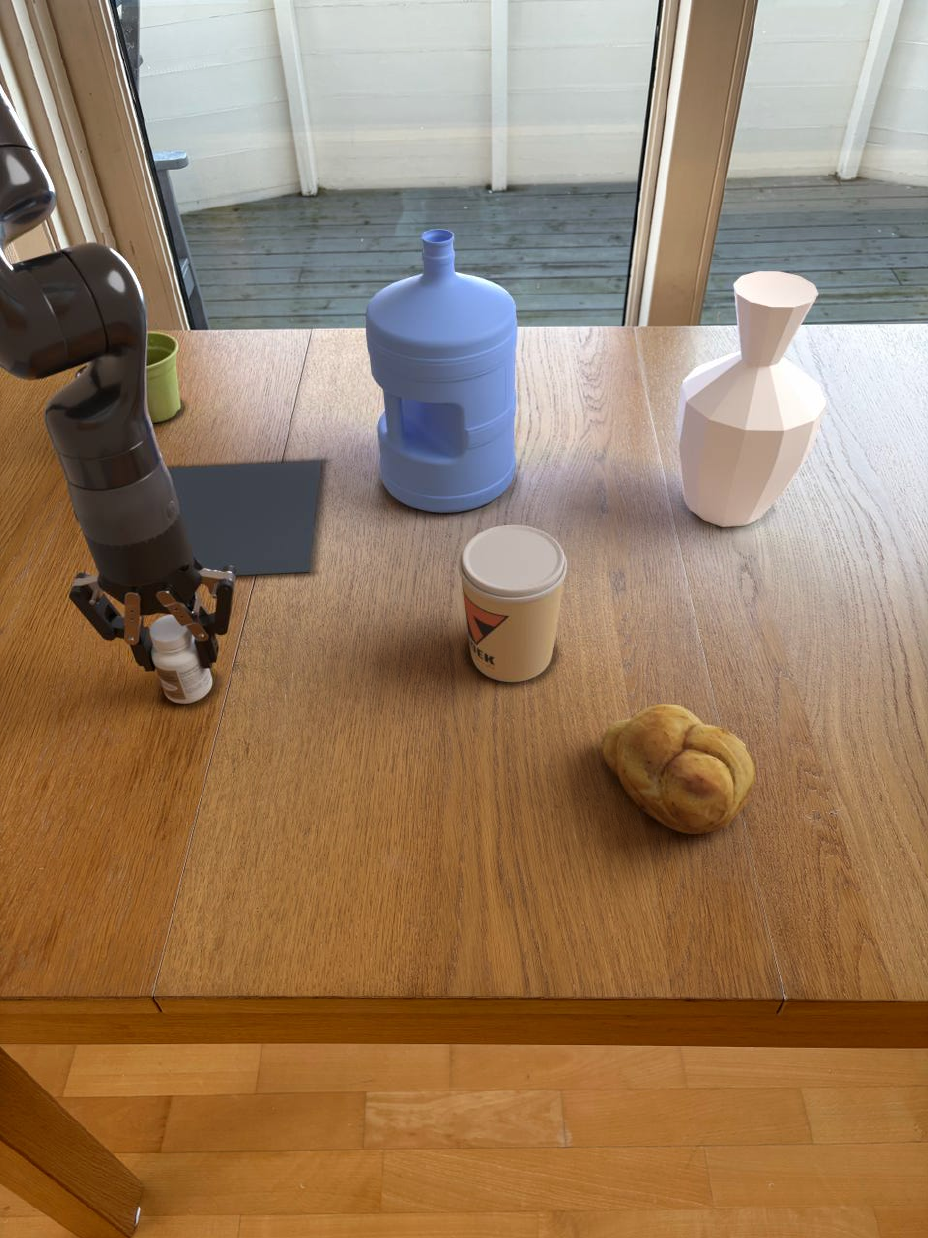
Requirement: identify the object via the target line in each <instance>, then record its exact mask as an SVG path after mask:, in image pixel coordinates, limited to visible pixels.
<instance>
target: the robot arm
mask: <svg viewBox="0 0 928 1238" xmlns="http://www.w3.org/2000/svg"><path fill="white" fill-rule="evenodd" d="M57 200H58V198H57V191H56V187H55V185H54V182H53V180H52V177H51V175H50V173H49V172H48V170H47V168H46V166H45V164H44V162H43V160H42V158H41V157H40V155H39V153H38V151H37V150H36V147H35V145H34V144H33V142H32V140H31V137H29V134H28V132H27V130H26V129H25V127H24V125H23V124H22V121H21V120H20V118H19V116H18V114H17V112H16V110H15V109H14V107H13V105H12V103H11V101H10V99H9V98H8V96H7V94H6V92H5V90H4V88H3V86H2V84H1V83H0V368H1V369H3V370H4V371H6V372H7V373H9V374H10V375H12V376H14V377H16V378H18V379H21V380H25V381H37V380H44V379H46V378H49V377H52V376H55V375H57V374H58V375H59V374H60V373H63V372H66V371H67V370H72V369H75V368H77V367H80V366H82V365H85V364H87V363H88V364H87V365H88V366H87V365H86V366H87V368H86V369H85V370H84V371H83V372H82V373H81V374H80V375H79V376H78V377H77V378H75V377H74V379H73V380H71V381H70V382H69V383H66V385H64V386H63V387H61V388H60V389H59V390H57V392H55V393H54V394H53V395H52V396H51V397H50V398H49V399H48V401H47V403H46V405H45V408H44V412H43V414H44V415H43V418H44V424H45V427H46V430H47V432H48V433H47V434H48V436H49V439H50V441H51V443H52V447H53V449H54V451H55V454H56V456H57V459H58V462H59V465H60V467H61V470H62V472H63V476H64V477H65V480H66V484H67V489H68V495H69V498H70V499H69V500H70V502H71V505H72V508H73V514H74V517H75V519H76V521H77V522H78V524H79V527H80V529H81V532H82V534H83V536H84V539H85V542H86V545H87V547H88V549H89V552H90V555H91V558H92V560H93V563H94V564H95V567H96V570H97V572H98V574H93V575H90V574H89V573H86V572H78V573H76V575H75V578H74V580H73V583H72V585H71V588H70V591H69V594H68V598H69V599H70V600H71V602H72V603H73V604H74V606H75V607H76V608H77V609H78V610H79V612H80V613H81V614H82V615H83V616H84V618H85V619H86V620H87V621H88V622H89V624H90V625H91V626H92V627H93V628H94V629H95V631H96V632H97V633H98V634H99V636H100V637H101V638H102V639H103V640H105V641H107V642H112V641H114V640H116V638H117V639H122V640H123V641H124V642H125V643H126V644H128V645H129V647H130V650H131V653H132V655H133V658H134V660H135V663H136V664H137V665H138V666H139V667H143V668H144V671H145V672H147V673H149V672H156V668H155V665H154V663H153V660H152V657H151V650H152V647H153V643H152V640H151V637H150V634H149V630H150V627H149V626H145V625H144V624H145V616H153V615H157V614H163V615H173V616H174V618H175V619H176V620H177V621H178V623H179V624H180V625H181V626H182V627H184V626H186V627H187V629H188V630H189V631H190V633H191V634H192V635H193V636H194V638H195V641H194V643H195V646H196V649H197V653H198V656H199V659H200V662H201V665H202V668H203V669H209V670H210V669H212V668H213V664H216V663H217V659H218V656H219V651H220V645H219V641H218V638H217V636H226V635H227V634H228V631H229V627H230V621H231V617H232V610H233V603H234V594H235V588H236V587H235V586H236V582H237V581H236V580H237V576H236V573H237V570H236V568H235V567H233V566H230V565H227V566H224V567H223V568H222V572H221V571H215V570H209V569H204V568H203V566H202V564H201V563H200V562H199V561H198V560H197V559H196V558H195V556H194V555H193V552H192V547H191V543H190V540H189V536H188V533H187V529H186V526H185V522H184V519H183V516H182V512H181V509H180V505H179V502H178V498H177V495H176V491H175V488H174V485H173V481H172V478H171V475H170V473H169V471H168V468H169V467H168V466H167V464H166V463H165V460H164V458H163V455H162V452H161V449H160V446H159V443H158V440H157V439H158V438H157V437H156V432H155V429H154V425H153V423H152V421H151V418H150V414H149V411H148V405H147V380H146V357H147V332H148V313H147V304H146V299H145V295H144V292H143V288H142V285H141V283H140V281H139V279H138V276H137V274H136V273H135V271H134V269H133V268H132V266H131V265H130V264H129V262H128V261H127V260H126V259H125V258H124V257H123V256H122V255H121V254H120V253H119V252H117V251H116V250H115V249H114V248H112V247H110V246H108V245H106V244H103V243H101V242H96V241H95V242H94V241H90V242H82V243H78V244H74V245H71V246H68V247H64V248H61V249H58V250H55V251H52V252H48V253H45V254H41V255H38V256H34V257H32V258H28V259H24V260H21V261H17V262H14V263H10V261H9V260H8V257H7V256H6V253H5V250H6V249H7V247H9V245H11V244H12V243H13V242H15V241H16V240H18V239H19V238H21V237H23V236H25V235H26V234H28V233H29V232H31V231H33V230H34V229H36V228H37V227H39V226H40V225H42V224H43V223H45V222H46V220H48V219H49V218H50V216H51V215H52V214H53V212H54V210H55V208H56V206H57ZM202 585H204V586H205V587H206V588H207V589H208V593H209V594H210V595H211V599H214V600H216V602H215V611H213V612H211V613H210V611H209V610H208V609H207V607H206V606H205V605H204V603H203V601H202V596H201V594H200V593H199V591H198V589H199V588H200V586H202ZM105 593H106V594H107V595H109V596H110V597H112V598H113V599H115V600H116V601H118V602H119V603H120V604H122V605H123V606H124V616H123V615H122V614H121V613H120V612H119V610H118V609H117V608H116V606H115V605H114V604H113V603H112V601H111V600H110V599H109V598H108V596H106V594H105Z"/></svg>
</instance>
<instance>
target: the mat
mask: <svg viewBox="0 0 928 1238" xmlns="http://www.w3.org/2000/svg"><path fill="white" fill-rule="evenodd" d="M167 468H168V471H169V473H170V475H171V478H172V481H173V485H174V488H175V491H176V495H177V498H178V502H179V505H180V509H181V512H182V516H183V519H184V522H185V526H186V529H187V533H188V536H189V540H190V543H191V547H192V552H193V555H194V556H195V558H196V559H197V560H198V561H199V562H200V563H201V564H202V566H203V568H204V569H209V570H215V571H221V572H222V568H223V567H224V566H227V565H230V566H233V567H235V568H236V570H237V573H236V577H245V576H259V575H260V576H263V575H266V576H267V575H281V574H282V575H284V574H285V575H287V574H303V573H304V574H305V573H310V572H311V565H312V555H313V554H312V553H313V545H314V536H315V524H316V516H317V509H318V508H317V506H318V497H319V489H320V479H321V469H322V460H313V461H293V462H271V463H270V462H269V463H249V464H229V465H227V464H226V465H209V466H207V465H206V466H187V467H186V466H185V467H167Z"/></svg>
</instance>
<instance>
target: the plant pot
mask: <svg viewBox="0 0 928 1238" xmlns="http://www.w3.org/2000/svg"><path fill="white" fill-rule="evenodd" d="M178 351H179V343H178V341H177V340H176V338H175V337H173V336H172V335H170V334H167V333H164V332H158V331H147V357H146V380H147V405H148V411H149V414H150V418H151V421H152V424H155V423H161V422H164V421H167V420H169V419H172V418H173V417H175V416H176V414H177V412H178V411H180V410H181V405H182V404H181V399H180V398H181V397H180V389H179V382H178V381H179V380H178V372H177V366H176V365H177V364H176V363H177V353H178Z"/></svg>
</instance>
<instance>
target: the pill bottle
mask: <svg viewBox="0 0 928 1238" xmlns="http://www.w3.org/2000/svg"><path fill="white" fill-rule="evenodd" d="M149 634H150V637H151V640H152V643H153V647H152V650H151V657H152V660H153V663H154V665H155V668H156V669H155V672H156V674H157V676H158V678H159V682H160V684H161V687H162V690H163V693H164V695H165V696H166V697H167V699H168V700H170V701H171V702H173V703H175V704H181V705H182V704H183V705H187V704H193V703H195V702H198V701H200V700H202V699H203V698H204V697H205V696H207V695H208V693H210V691H211V689H212V686H213V677H212V674H211V670H210V669H203V668H202V665H201V662H200V659H199V656H198V653H197V649H196V646H195V643H194V641H195V638H194V636H193V635H192V634H191V633H190V631H189V630H188V629H187V627H186V626H184V627H182V626H181V625H180V624H179V623H178V621H177V620H176V619H175V618H174V616H173V615H172V614H166V615H164V616H161V617H159V618H157V619H156V620H155V621H154V622H153V623H152V624H151V625H150V627H149Z"/></svg>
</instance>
